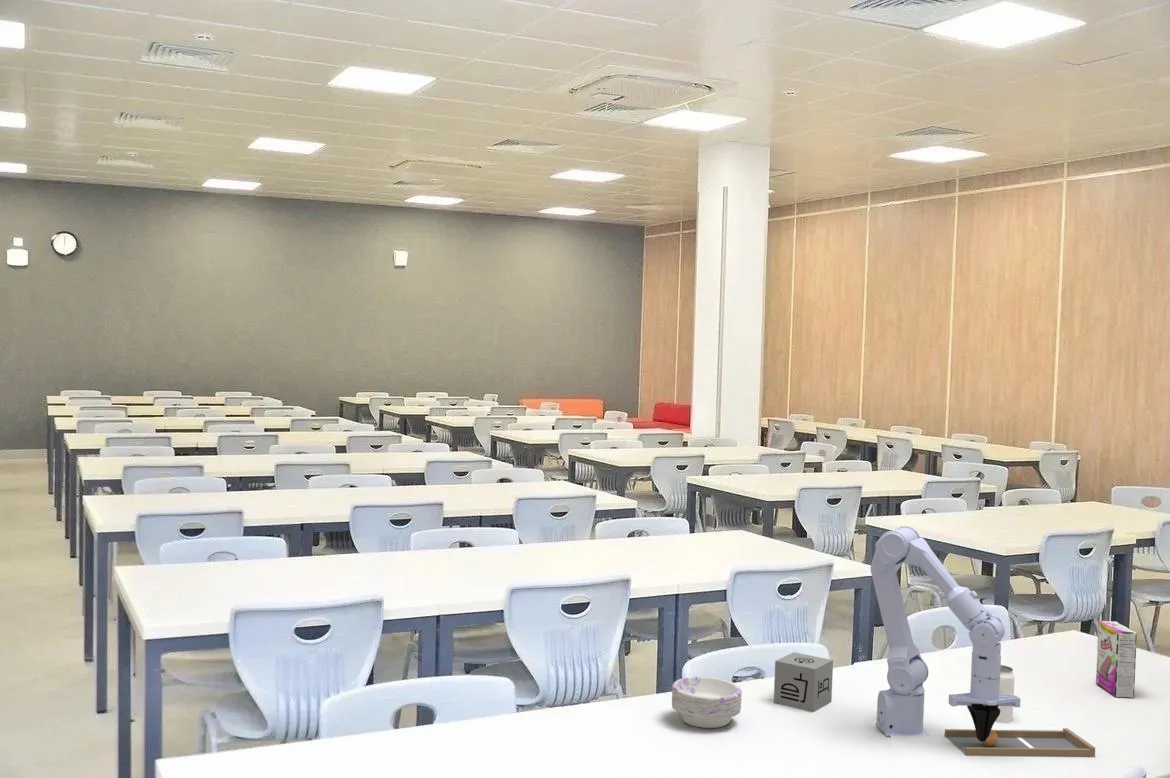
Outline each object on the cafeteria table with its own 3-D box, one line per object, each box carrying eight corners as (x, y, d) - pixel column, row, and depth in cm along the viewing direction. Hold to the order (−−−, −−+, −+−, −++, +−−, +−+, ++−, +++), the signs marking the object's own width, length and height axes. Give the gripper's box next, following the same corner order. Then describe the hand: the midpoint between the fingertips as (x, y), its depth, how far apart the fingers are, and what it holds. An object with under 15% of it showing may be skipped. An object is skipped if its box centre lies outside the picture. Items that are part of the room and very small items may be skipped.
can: (993, 726, 246) (996, 672, 245) (976, 716, 252) (978, 664, 252) (1018, 724, 248) (1021, 671, 247) (1000, 714, 254) (1002, 663, 253)
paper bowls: (738, 736, 234) (739, 699, 234) (666, 729, 237) (668, 692, 237) (742, 714, 249) (743, 679, 249) (675, 707, 252) (676, 673, 252)
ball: (988, 752, 230) (981, 737, 229) (981, 745, 233) (974, 730, 233) (1003, 744, 230) (997, 729, 229) (996, 738, 233) (989, 723, 233)
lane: (966, 758, 225) (966, 746, 225) (944, 738, 237) (944, 726, 237) (1094, 759, 227) (1095, 747, 227) (1066, 739, 238) (1067, 728, 238)
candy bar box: (1094, 684, 281) (1097, 620, 280) (1114, 685, 281) (1117, 621, 280) (1114, 698, 270) (1117, 631, 269) (1135, 698, 270) (1138, 632, 269)
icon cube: (813, 712, 252) (815, 669, 251) (773, 703, 257) (775, 660, 257) (831, 702, 260) (833, 660, 259) (792, 693, 266) (793, 652, 265)
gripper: (958, 680, 226) (956, 746, 227) (1028, 681, 227) (1025, 747, 227) (945, 670, 233) (943, 734, 234) (1013, 671, 234) (1010, 735, 234)
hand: (982, 740), depth 231 cm, fingers closed, pressing on ball
